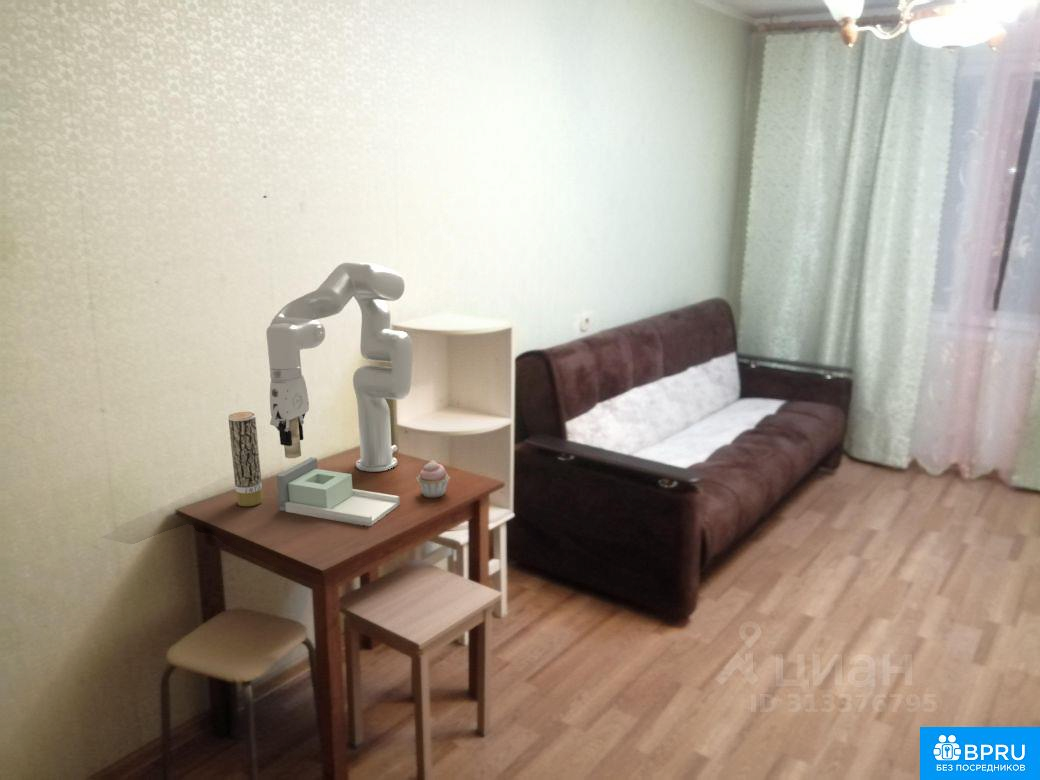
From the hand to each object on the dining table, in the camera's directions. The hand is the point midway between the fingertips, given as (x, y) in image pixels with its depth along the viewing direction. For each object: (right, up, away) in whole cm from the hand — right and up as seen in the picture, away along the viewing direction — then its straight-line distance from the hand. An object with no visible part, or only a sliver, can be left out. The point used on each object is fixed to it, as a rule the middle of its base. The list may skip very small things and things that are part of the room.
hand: (292, 441), depth 201 cm
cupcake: (+34, -16, +20) cm, 43 cm away
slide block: (+4, -17, +12) cm, 21 cm away
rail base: (+10, -19, +11) cm, 24 cm away
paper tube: (-16, -18, +14) cm, 28 cm away
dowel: (0, -4, +1) cm, 4 cm away
